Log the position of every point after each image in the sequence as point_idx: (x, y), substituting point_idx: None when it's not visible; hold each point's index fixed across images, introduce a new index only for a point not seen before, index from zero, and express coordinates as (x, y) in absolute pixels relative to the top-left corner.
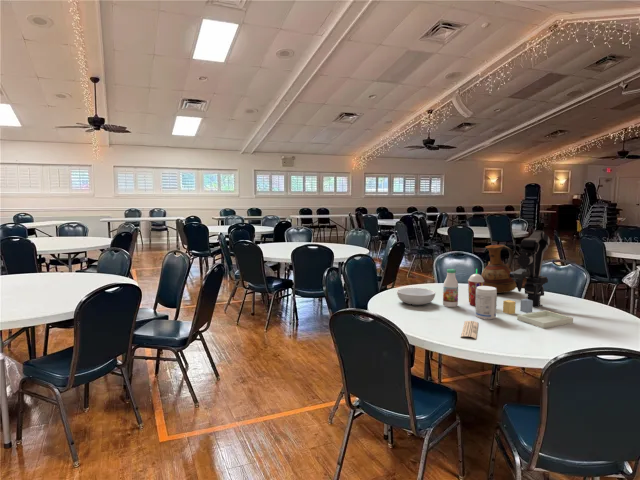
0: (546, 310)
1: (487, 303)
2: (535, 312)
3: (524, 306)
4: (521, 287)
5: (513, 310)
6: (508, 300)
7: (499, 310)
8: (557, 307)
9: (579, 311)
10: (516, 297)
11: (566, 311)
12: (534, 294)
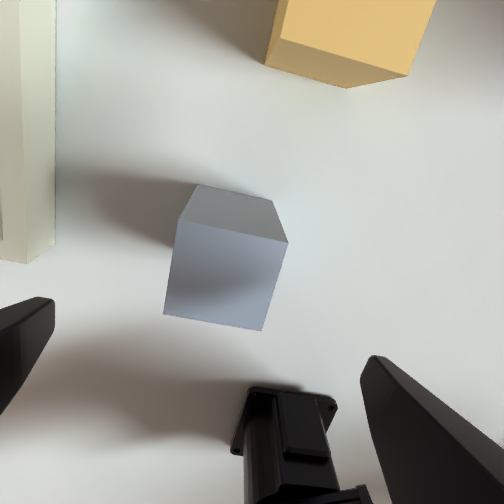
0: (22, 260)
1: None
2: (4, 64)
3: (225, 205)
4: (383, 463)
5: (274, 26)
6: (403, 22)
7: (433, 30)
8: (156, 478)
9: (26, 489)
10: None
11: (62, 442)
12: (25, 304)
